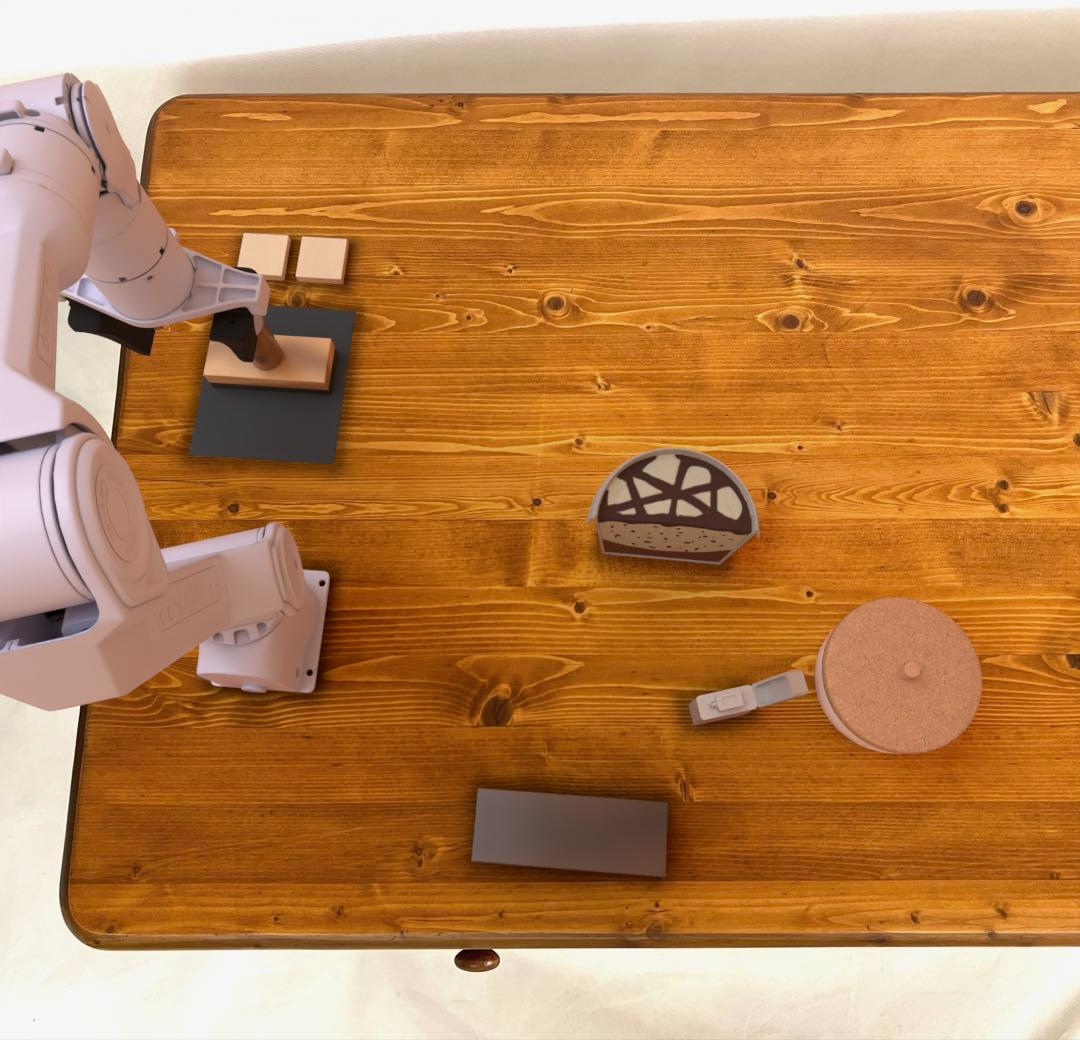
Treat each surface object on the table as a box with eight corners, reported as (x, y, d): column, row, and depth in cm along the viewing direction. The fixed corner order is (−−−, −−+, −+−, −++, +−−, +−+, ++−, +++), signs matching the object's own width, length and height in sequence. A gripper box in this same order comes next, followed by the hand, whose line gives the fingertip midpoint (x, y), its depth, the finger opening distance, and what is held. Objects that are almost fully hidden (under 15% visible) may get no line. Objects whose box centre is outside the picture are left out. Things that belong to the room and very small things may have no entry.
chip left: (285, 282, 85) (281, 275, 84) (240, 280, 85) (235, 272, 84) (292, 242, 86) (288, 235, 85) (247, 240, 86) (243, 232, 85)
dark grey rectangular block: (656, 872, 71) (665, 877, 65) (477, 858, 71) (470, 861, 65) (659, 803, 72) (668, 802, 66) (483, 789, 72) (477, 787, 67)
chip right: (344, 286, 85) (341, 279, 84) (298, 283, 85) (295, 276, 84) (350, 246, 86) (347, 238, 85) (305, 243, 86) (301, 235, 85)
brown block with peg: (331, 395, 81) (307, 351, 74) (213, 387, 82) (177, 343, 74) (337, 351, 83) (315, 304, 75) (221, 344, 83) (187, 296, 75)
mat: (334, 465, 80) (333, 463, 80) (190, 456, 80) (188, 454, 80) (356, 312, 84) (355, 310, 84) (218, 304, 84) (217, 302, 84)
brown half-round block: (742, 492, 79) (768, 447, 69) (739, 566, 77) (765, 531, 67) (589, 479, 79) (594, 432, 70) (583, 552, 78) (587, 514, 68)
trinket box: (936, 772, 72) (990, 765, 63) (790, 745, 73) (824, 736, 64) (944, 630, 75) (997, 605, 66) (805, 606, 76) (838, 578, 67)
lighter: (693, 726, 74) (709, 715, 66) (687, 703, 74) (703, 690, 66) (784, 705, 74) (811, 692, 66) (778, 683, 74) (803, 667, 67)
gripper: (250, 192, 60) (305, 304, 73) (19, 177, 60) (114, 291, 73) (230, 294, 58) (290, 391, 71) (-10, 278, 58) (93, 377, 71)
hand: (199, 346), depth 72 cm, fingers open, 7 cm apart
